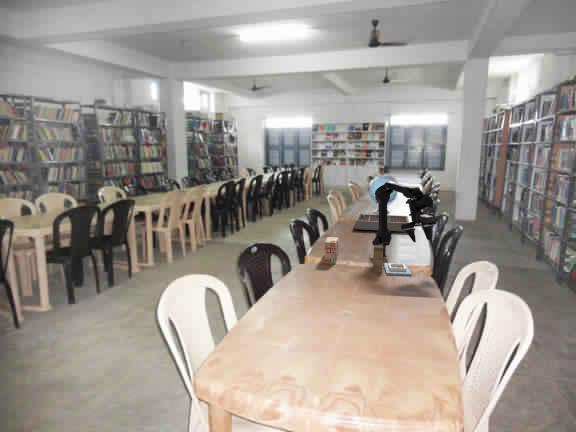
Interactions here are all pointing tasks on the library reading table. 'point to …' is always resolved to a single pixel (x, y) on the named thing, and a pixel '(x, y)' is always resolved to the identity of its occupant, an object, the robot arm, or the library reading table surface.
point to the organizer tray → (373, 222)
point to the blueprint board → (397, 269)
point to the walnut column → (378, 258)
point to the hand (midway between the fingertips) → (421, 241)
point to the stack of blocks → (331, 250)
